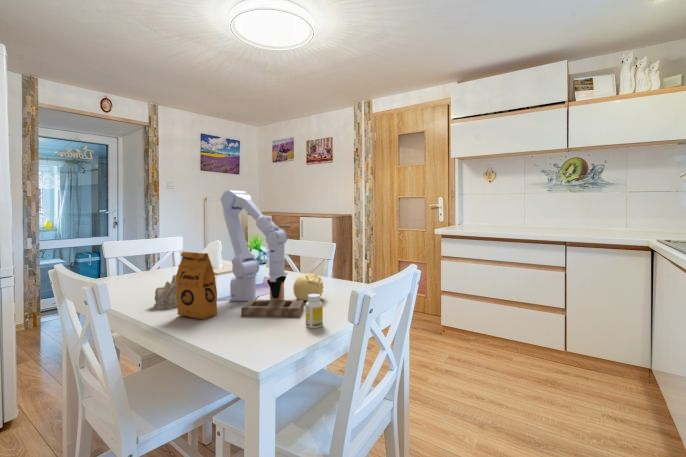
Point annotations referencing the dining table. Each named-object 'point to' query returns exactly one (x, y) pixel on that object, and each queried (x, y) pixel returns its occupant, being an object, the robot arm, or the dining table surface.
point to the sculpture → (307, 286)
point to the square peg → (281, 295)
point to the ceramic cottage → (166, 295)
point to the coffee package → (196, 286)
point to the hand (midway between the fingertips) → (277, 296)
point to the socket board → (273, 308)
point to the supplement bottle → (314, 311)
